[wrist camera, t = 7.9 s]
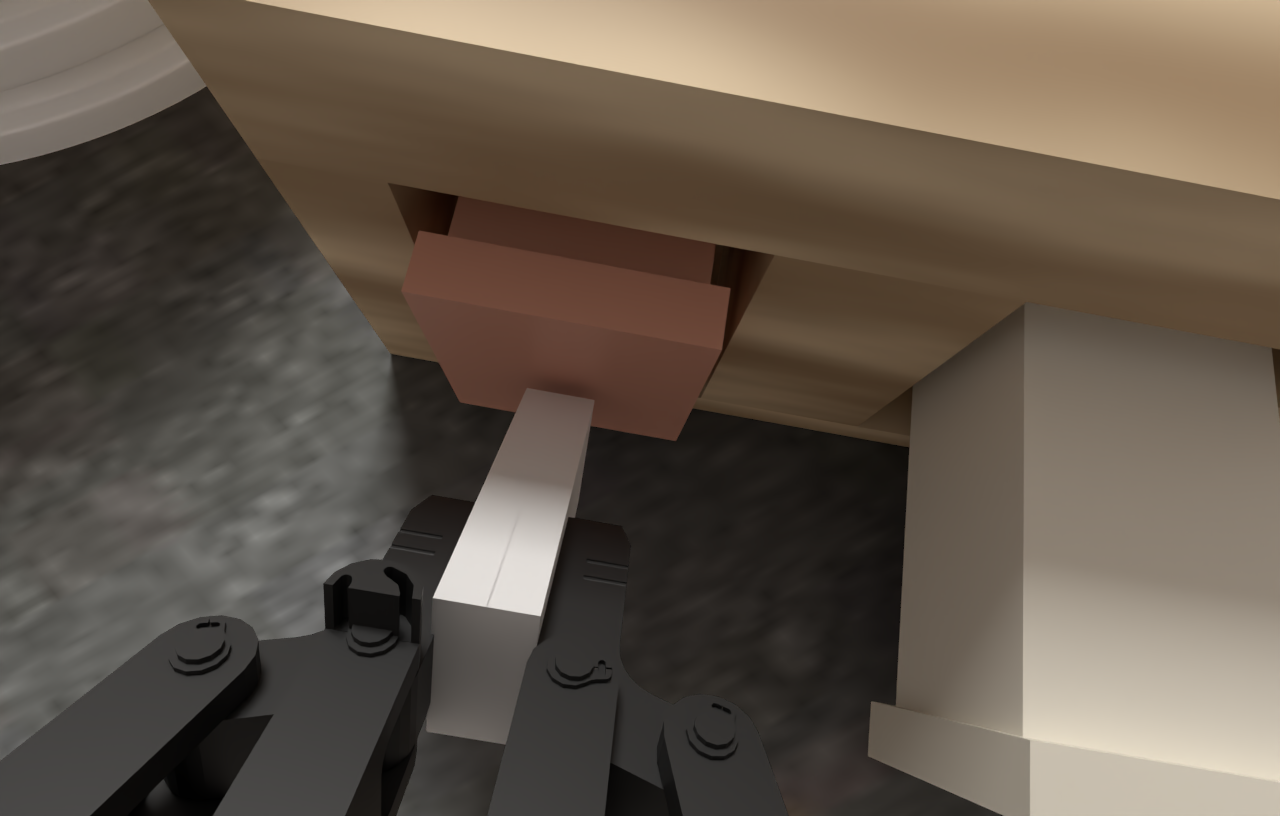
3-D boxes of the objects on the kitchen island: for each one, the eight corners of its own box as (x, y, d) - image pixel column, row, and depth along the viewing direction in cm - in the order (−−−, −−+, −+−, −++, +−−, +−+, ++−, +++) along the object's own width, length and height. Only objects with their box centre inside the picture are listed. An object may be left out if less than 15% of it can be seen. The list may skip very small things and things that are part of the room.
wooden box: (1139, 488, 21) (1850, 309, 9) (390, 353, 21) (132, -21, 9) (1120, 52, 26) (1574, -433, 14) (511, -67, 26) (450, -679, 14)
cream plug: (1101, 795, 17) (1391, 887, 11) (867, 755, 17) (1029, 827, 11) (1085, 173, 22) (1277, 1, 16) (906, 139, 22) (1031, -49, 16)
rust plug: (675, 441, 19) (721, 350, 13) (459, 402, 19) (401, 291, 12) (753, -60, 24) (812, -297, 18) (584, -94, 24) (585, -344, 18)
